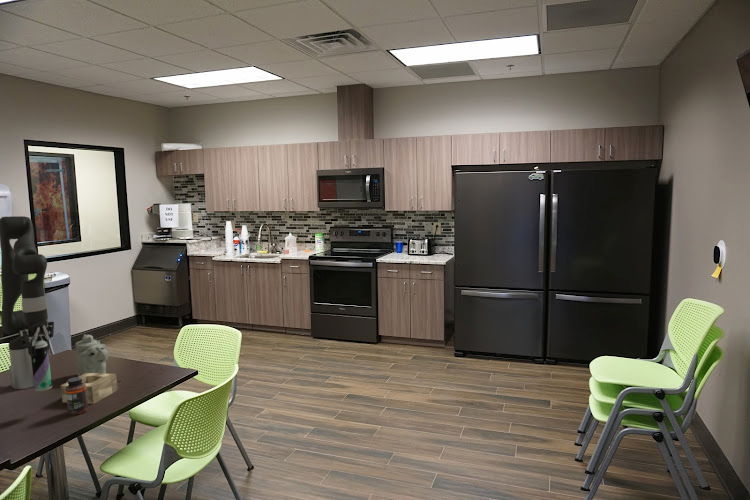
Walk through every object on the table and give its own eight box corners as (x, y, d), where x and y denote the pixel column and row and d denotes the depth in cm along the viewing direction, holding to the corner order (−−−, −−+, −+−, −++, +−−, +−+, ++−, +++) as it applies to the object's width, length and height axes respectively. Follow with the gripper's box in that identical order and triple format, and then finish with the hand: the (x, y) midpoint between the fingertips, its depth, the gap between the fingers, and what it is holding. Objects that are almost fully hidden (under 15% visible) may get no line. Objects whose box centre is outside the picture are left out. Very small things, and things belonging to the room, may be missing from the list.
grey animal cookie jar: (106, 380, 224) (102, 339, 222) (69, 384, 221) (64, 342, 219) (116, 368, 240) (113, 329, 238) (81, 371, 237) (77, 332, 234)
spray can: (33, 392, 188) (28, 340, 185) (35, 387, 193) (30, 336, 190) (51, 389, 190) (45, 337, 188) (52, 384, 195) (47, 334, 193)
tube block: (62, 402, 201) (60, 385, 200) (87, 388, 215) (86, 372, 214) (93, 403, 199) (92, 386, 198) (117, 390, 213) (116, 373, 212)
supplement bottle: (84, 406, 197) (81, 374, 195) (91, 410, 193) (88, 378, 191) (65, 412, 192) (61, 379, 190) (72, 417, 187) (68, 383, 186)
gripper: (41, 304, 195) (46, 346, 197) (8, 313, 181) (14, 359, 183) (58, 304, 194) (63, 347, 196) (27, 313, 180) (32, 359, 182)
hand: (39, 352), depth 190 cm, fingers closed on spray can, 5 cm apart
